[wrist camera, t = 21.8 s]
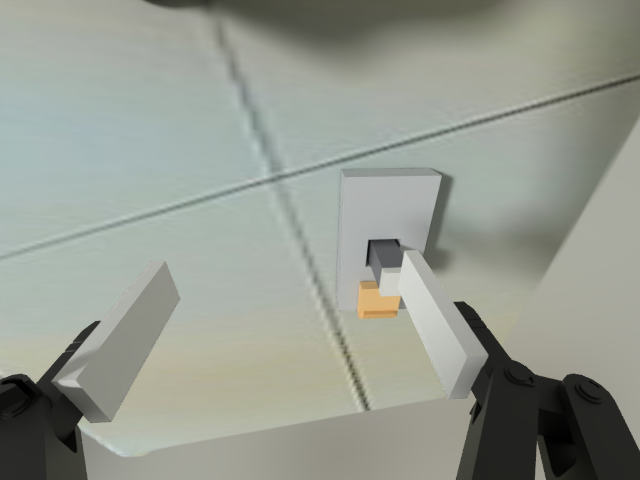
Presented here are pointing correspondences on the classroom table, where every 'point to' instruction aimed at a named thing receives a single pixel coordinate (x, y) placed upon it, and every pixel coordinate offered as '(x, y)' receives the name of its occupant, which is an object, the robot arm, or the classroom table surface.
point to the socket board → (380, 220)
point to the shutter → (375, 302)
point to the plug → (385, 265)
